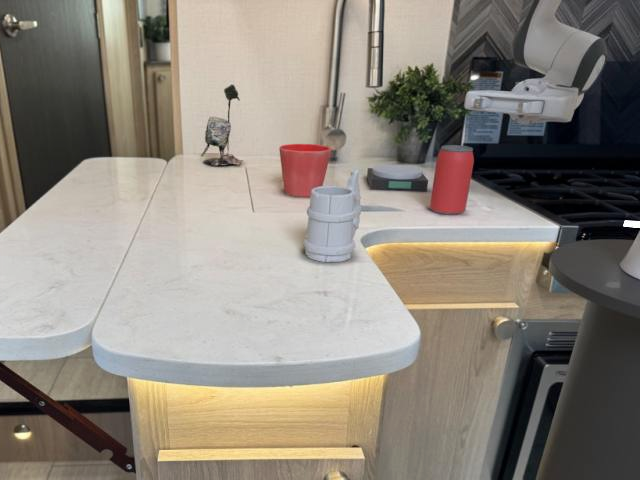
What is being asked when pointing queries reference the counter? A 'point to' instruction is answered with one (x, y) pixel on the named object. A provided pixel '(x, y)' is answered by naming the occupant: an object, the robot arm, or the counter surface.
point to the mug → (333, 221)
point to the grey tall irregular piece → (221, 132)
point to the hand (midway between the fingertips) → (497, 105)
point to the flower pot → (303, 167)
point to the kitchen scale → (396, 178)
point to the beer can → (452, 179)
